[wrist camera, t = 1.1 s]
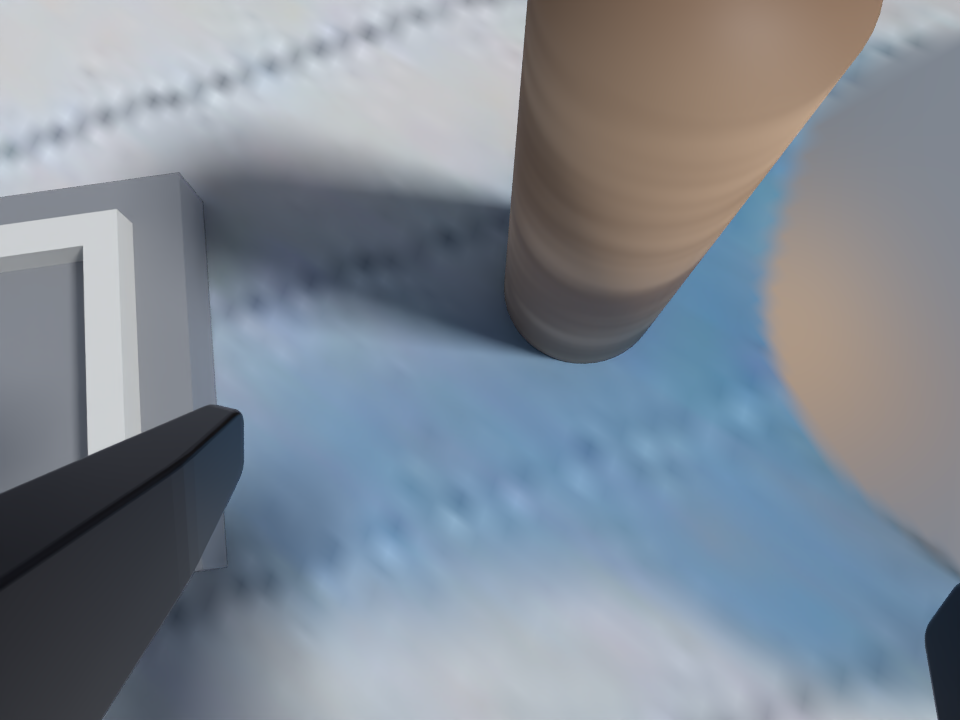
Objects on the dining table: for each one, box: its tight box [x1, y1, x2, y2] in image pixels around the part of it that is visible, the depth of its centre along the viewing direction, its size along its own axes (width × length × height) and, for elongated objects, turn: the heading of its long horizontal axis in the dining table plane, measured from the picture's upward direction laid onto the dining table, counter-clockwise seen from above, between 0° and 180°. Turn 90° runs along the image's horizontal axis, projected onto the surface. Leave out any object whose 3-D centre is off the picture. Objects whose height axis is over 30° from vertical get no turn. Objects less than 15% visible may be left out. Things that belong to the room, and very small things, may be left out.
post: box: [504, 0, 883, 364], centre depth 17 cm, size 5×5×14 cm
